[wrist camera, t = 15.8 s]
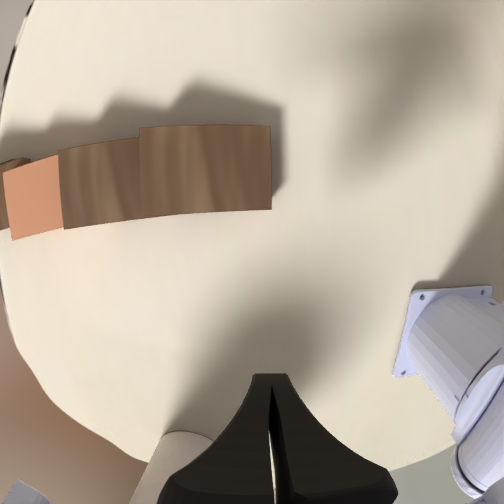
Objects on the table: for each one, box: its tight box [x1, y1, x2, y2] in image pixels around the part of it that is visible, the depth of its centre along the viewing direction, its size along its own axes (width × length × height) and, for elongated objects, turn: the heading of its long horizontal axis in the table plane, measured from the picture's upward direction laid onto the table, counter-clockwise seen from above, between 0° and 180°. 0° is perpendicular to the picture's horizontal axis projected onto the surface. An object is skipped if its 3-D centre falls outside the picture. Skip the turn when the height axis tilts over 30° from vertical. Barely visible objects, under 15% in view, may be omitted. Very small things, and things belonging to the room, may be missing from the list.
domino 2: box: [58, 137, 178, 230], centre depth 17 cm, size 2×5×8 cm
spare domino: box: [3, 155, 64, 241], centre depth 17 cm, size 2×5×8 cm
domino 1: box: [139, 125, 272, 217], centre depth 17 cm, size 2×5×8 cm
